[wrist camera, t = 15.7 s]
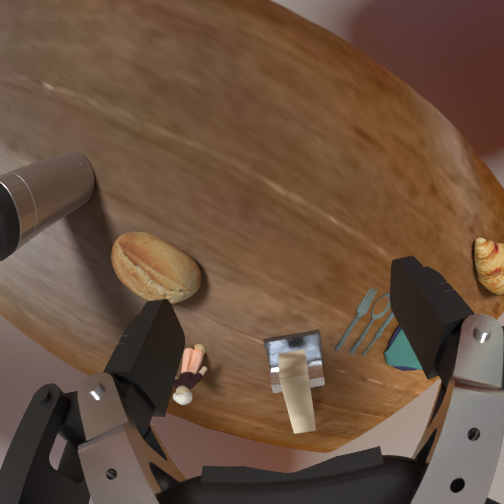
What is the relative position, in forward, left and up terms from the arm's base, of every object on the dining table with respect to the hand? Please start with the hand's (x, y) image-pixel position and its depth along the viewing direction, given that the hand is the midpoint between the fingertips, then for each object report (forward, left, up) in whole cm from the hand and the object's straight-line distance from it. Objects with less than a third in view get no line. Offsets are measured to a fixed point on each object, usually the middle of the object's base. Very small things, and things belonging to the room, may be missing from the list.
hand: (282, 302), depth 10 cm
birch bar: (-2, -34, -22) cm, 41 cm away
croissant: (+42, -24, -30) cm, 57 cm away
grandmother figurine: (-21, -30, -30) cm, 48 cm away
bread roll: (-19, -10, -30) cm, 37 cm away
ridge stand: (-2, -34, -30) cm, 46 cm away
